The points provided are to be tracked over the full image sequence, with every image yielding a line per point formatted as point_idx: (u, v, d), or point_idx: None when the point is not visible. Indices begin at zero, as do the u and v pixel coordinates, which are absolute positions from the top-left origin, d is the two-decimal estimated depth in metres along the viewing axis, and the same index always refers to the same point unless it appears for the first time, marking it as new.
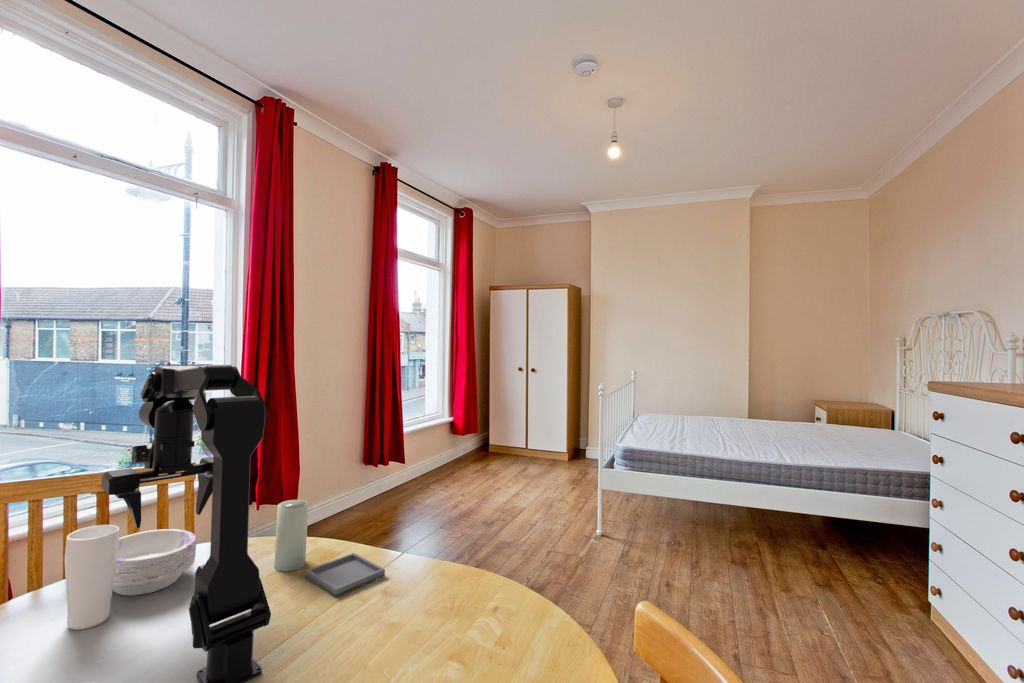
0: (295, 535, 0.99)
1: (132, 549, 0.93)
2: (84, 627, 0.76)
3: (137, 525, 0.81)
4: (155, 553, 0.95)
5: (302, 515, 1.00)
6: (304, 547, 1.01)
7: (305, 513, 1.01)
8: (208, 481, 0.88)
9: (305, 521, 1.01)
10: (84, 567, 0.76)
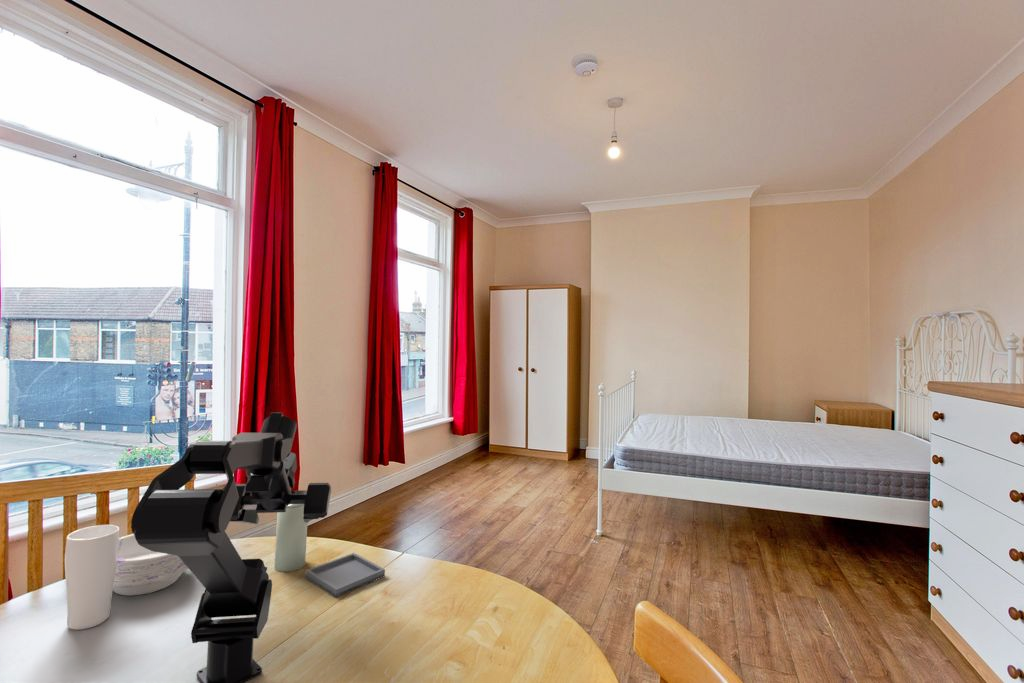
0: (295, 535, 0.99)
1: (132, 549, 0.93)
2: (84, 627, 0.76)
3: (254, 523, 0.91)
4: (155, 553, 0.95)
5: (302, 515, 1.00)
6: (304, 547, 1.01)
7: None
8: (303, 517, 0.88)
9: None
10: (84, 567, 0.76)
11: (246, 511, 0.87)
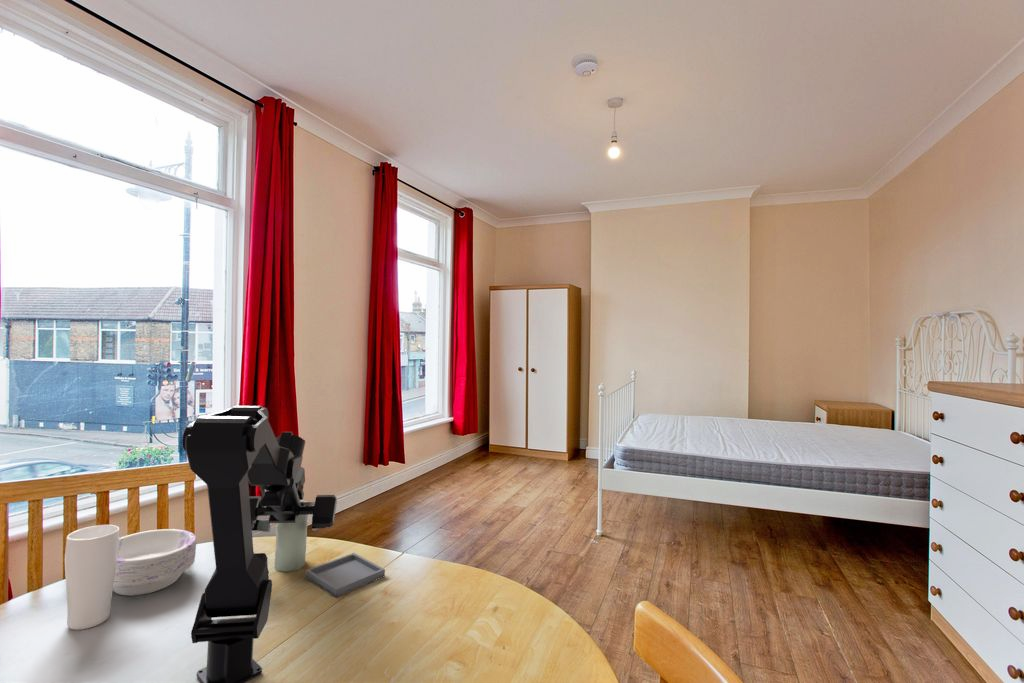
0: (295, 535, 0.99)
1: (132, 549, 0.93)
2: (84, 627, 0.76)
3: None
4: (155, 553, 0.95)
5: (302, 515, 1.00)
6: (304, 547, 1.01)
7: None
8: (312, 527, 0.96)
9: (305, 521, 1.01)
10: (84, 567, 0.76)
11: (259, 521, 0.95)
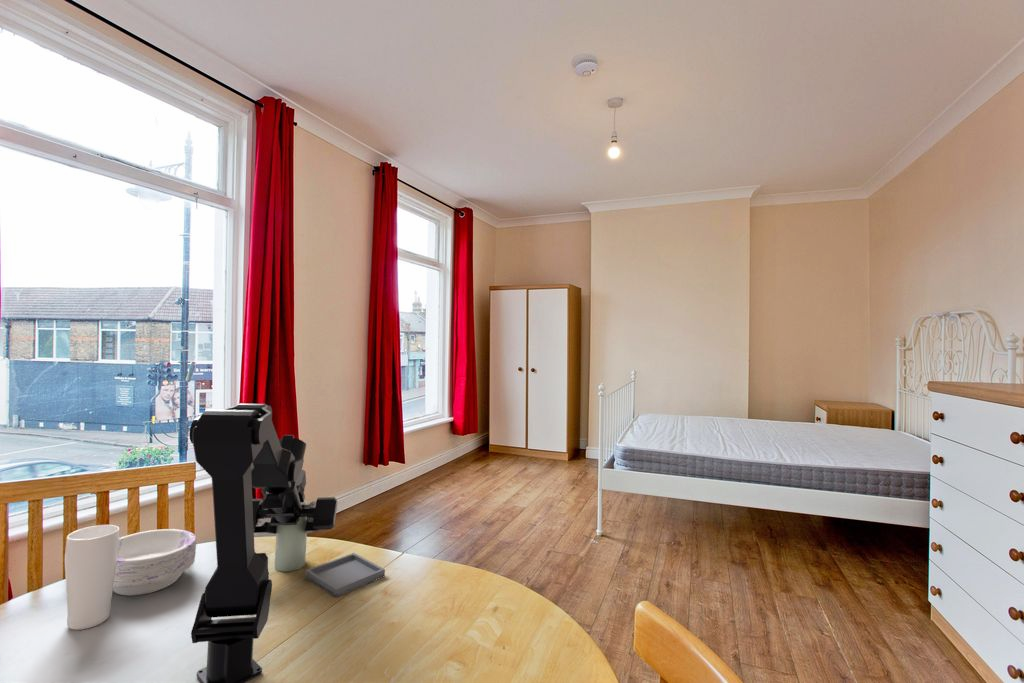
0: (295, 535, 0.99)
1: (132, 549, 0.93)
2: (84, 627, 0.76)
3: None
4: (155, 553, 0.95)
5: None
6: (304, 547, 1.01)
7: None
8: (305, 529, 0.97)
9: (305, 521, 1.01)
10: (84, 567, 0.76)
11: (268, 523, 0.97)
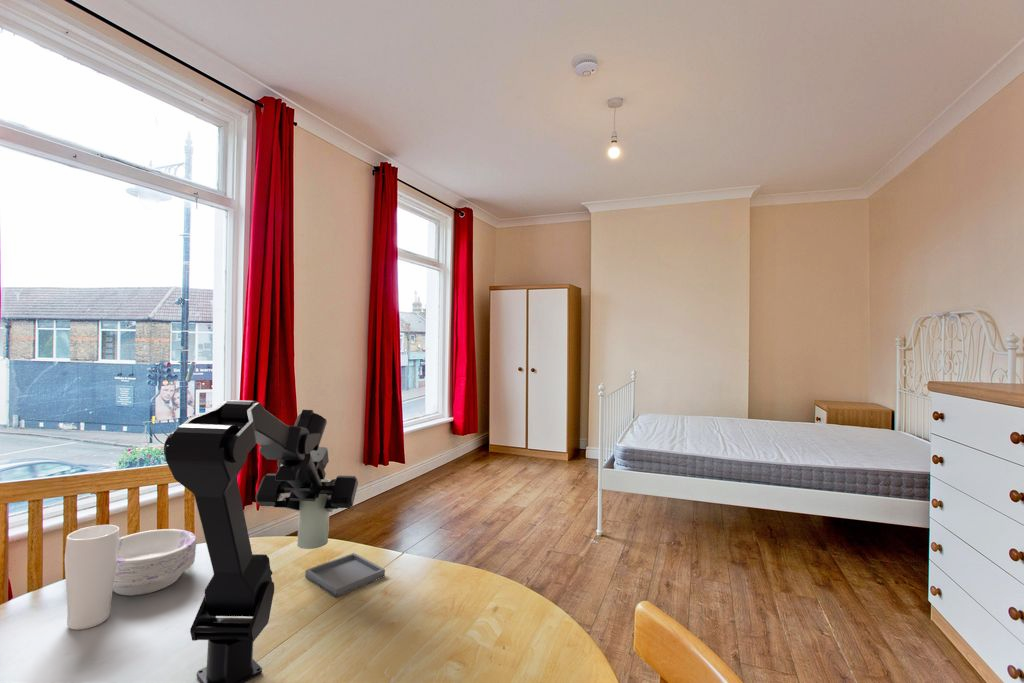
0: (317, 512, 0.98)
1: (132, 549, 0.93)
2: (84, 627, 0.76)
3: None
4: (155, 553, 0.95)
5: None
6: (326, 526, 1.00)
7: None
8: None
9: None
10: (84, 567, 0.76)
11: (290, 499, 0.96)
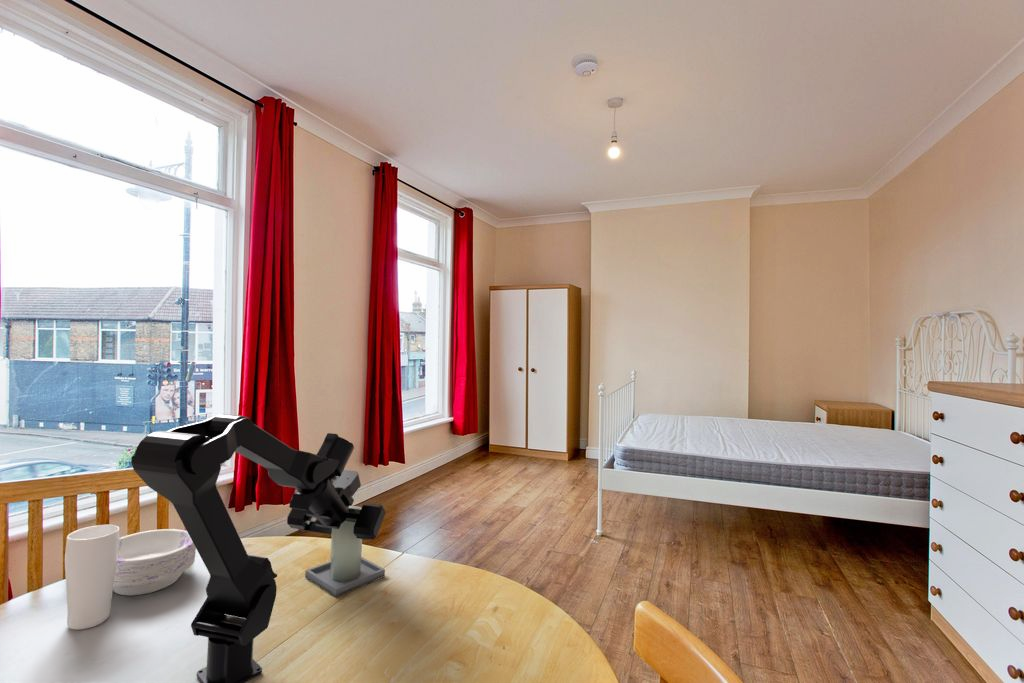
0: (346, 544, 0.94)
1: (132, 549, 0.93)
2: (84, 627, 0.76)
3: (327, 533, 0.99)
4: (155, 553, 0.95)
5: (353, 523, 0.95)
6: (356, 558, 0.96)
7: None
8: None
9: None
10: (84, 567, 0.76)
11: (314, 522, 0.94)
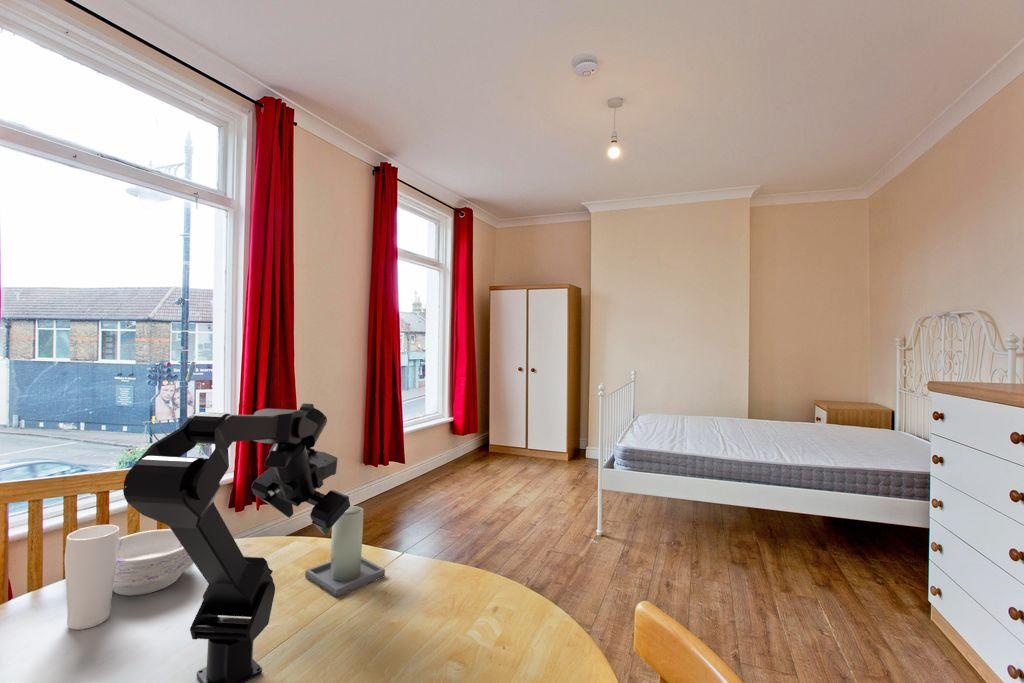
0: (346, 544, 0.94)
1: (132, 549, 0.93)
2: (84, 627, 0.76)
3: None
4: (155, 553, 0.95)
5: (353, 523, 0.95)
6: (356, 558, 0.96)
7: (357, 522, 0.96)
8: None
9: (357, 531, 0.96)
10: (84, 567, 0.76)
11: (277, 496, 0.90)
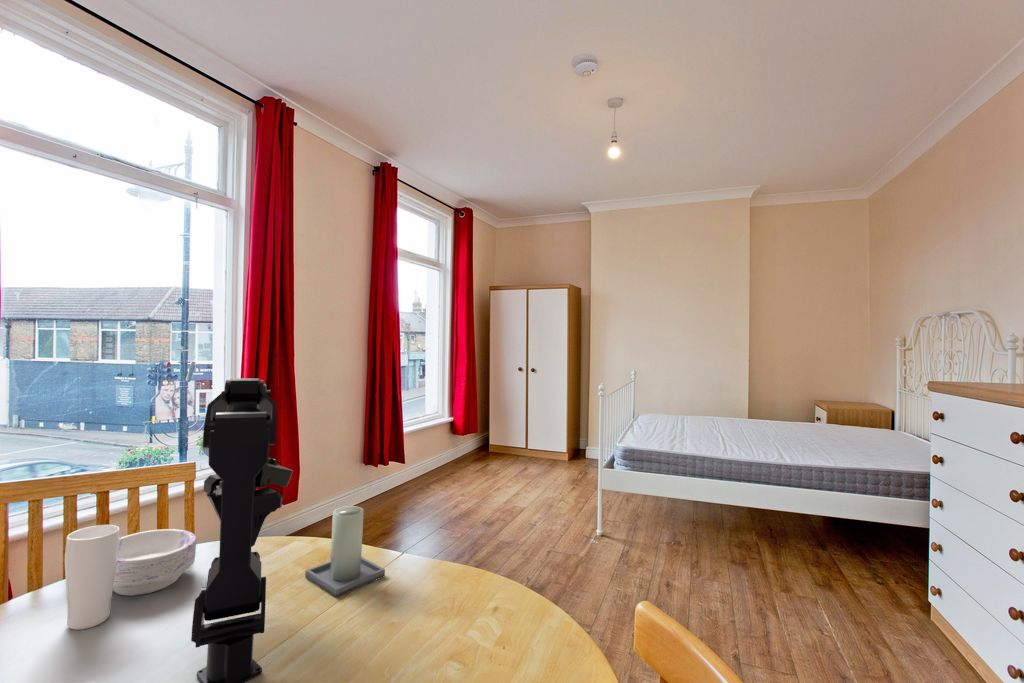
0: (346, 544, 0.94)
1: (132, 549, 0.93)
2: (84, 627, 0.76)
3: None
4: (155, 553, 0.95)
5: (353, 523, 0.95)
6: (356, 558, 0.96)
7: (357, 522, 0.96)
8: None
9: (357, 531, 0.96)
10: (84, 567, 0.76)
11: None
